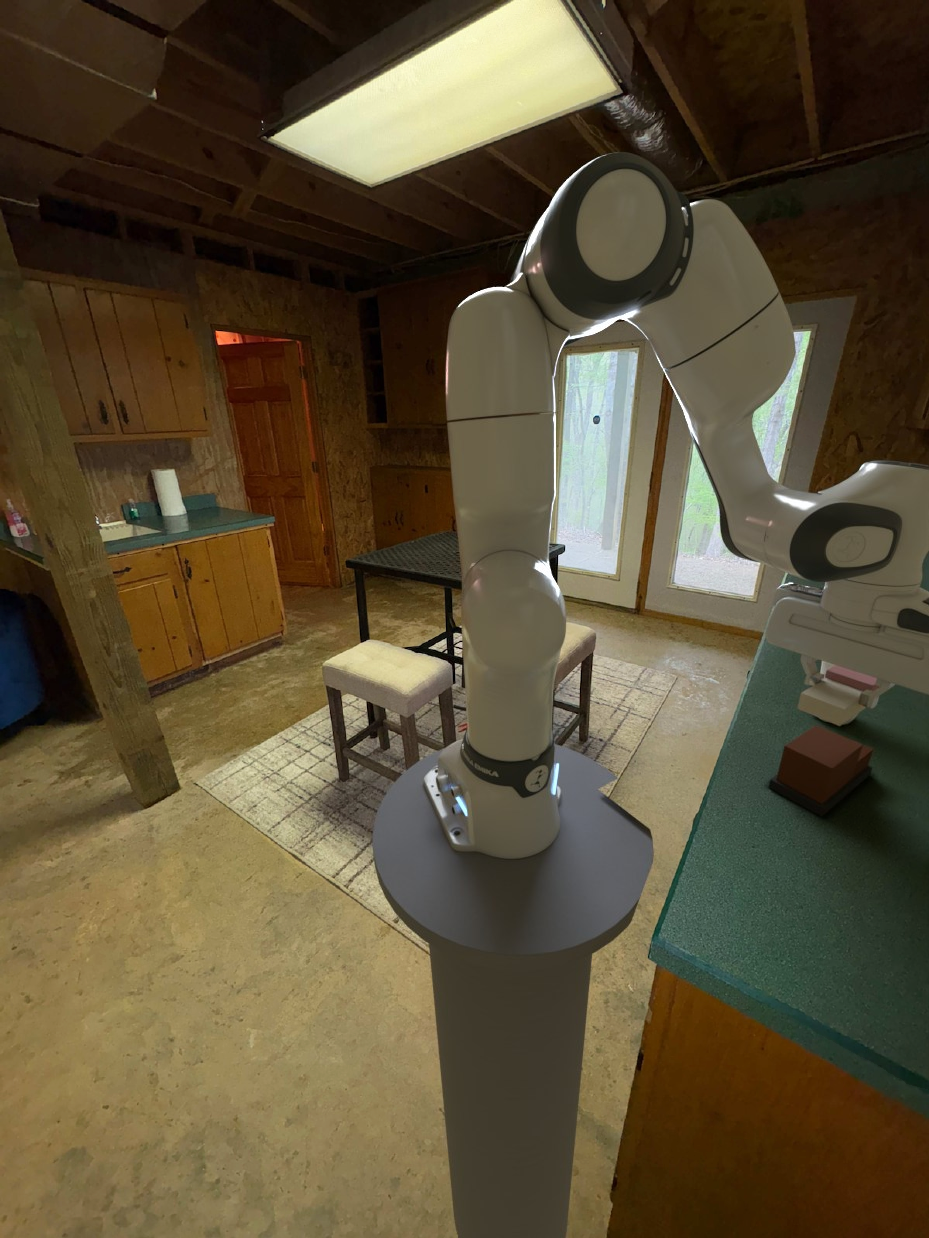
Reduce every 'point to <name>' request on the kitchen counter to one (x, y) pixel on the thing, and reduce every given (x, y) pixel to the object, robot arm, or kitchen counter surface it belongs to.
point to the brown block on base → (821, 769)
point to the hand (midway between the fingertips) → (839, 695)
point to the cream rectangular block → (837, 695)
